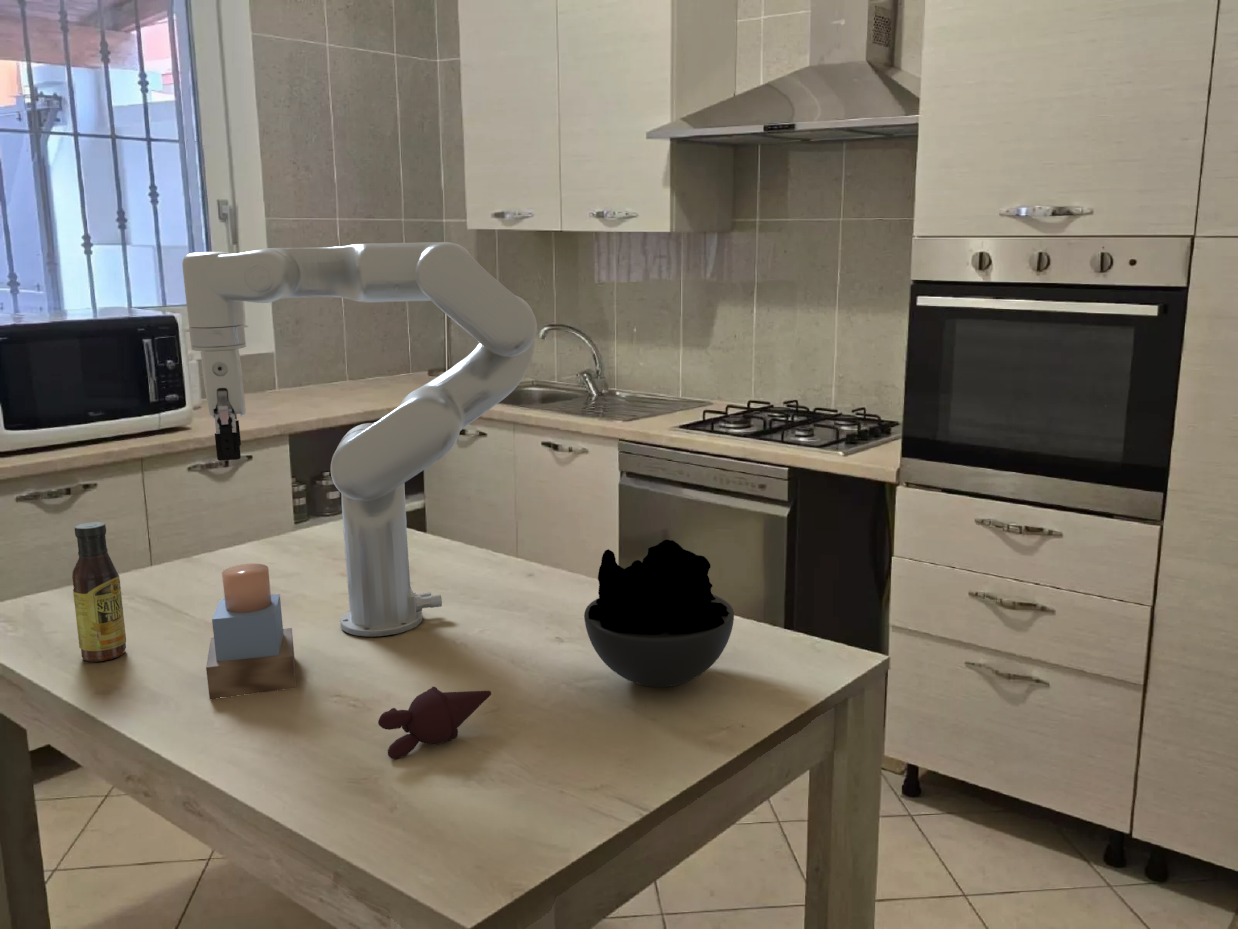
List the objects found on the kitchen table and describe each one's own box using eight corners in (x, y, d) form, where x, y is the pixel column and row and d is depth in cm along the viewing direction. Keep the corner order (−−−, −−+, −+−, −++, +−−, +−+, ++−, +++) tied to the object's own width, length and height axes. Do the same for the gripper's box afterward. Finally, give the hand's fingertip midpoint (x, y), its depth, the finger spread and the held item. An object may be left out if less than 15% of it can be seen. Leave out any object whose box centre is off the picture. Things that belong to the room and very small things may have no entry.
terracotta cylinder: (273, 595, 152) (269, 561, 151) (270, 610, 146) (266, 575, 145) (228, 600, 150) (224, 565, 149) (223, 615, 145) (219, 579, 144)
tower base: (294, 660, 157) (291, 627, 156) (295, 690, 147) (292, 656, 146) (214, 670, 154) (210, 637, 153) (210, 702, 144) (206, 667, 143)
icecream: (468, 663, 138) (362, 708, 129) (498, 667, 132) (389, 714, 123) (482, 715, 138) (378, 763, 129) (513, 721, 132) (405, 772, 123)
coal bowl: (748, 661, 152) (749, 533, 148) (711, 722, 134) (711, 578, 130) (615, 645, 159) (613, 522, 155) (563, 701, 141) (558, 564, 137)
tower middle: (283, 634, 154) (279, 594, 152) (278, 655, 146) (274, 613, 145) (224, 639, 152) (220, 599, 151) (216, 661, 144) (212, 619, 143)
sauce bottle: (109, 665, 156) (91, 532, 151) (71, 662, 157) (52, 531, 152) (138, 647, 162) (121, 520, 157) (101, 645, 163) (84, 518, 159)
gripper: (245, 342, 150) (256, 462, 154) (245, 331, 166) (255, 440, 170) (187, 345, 148) (200, 467, 152) (193, 334, 164) (204, 444, 168)
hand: (229, 453), depth 161 cm, fingers open, 9 cm apart
